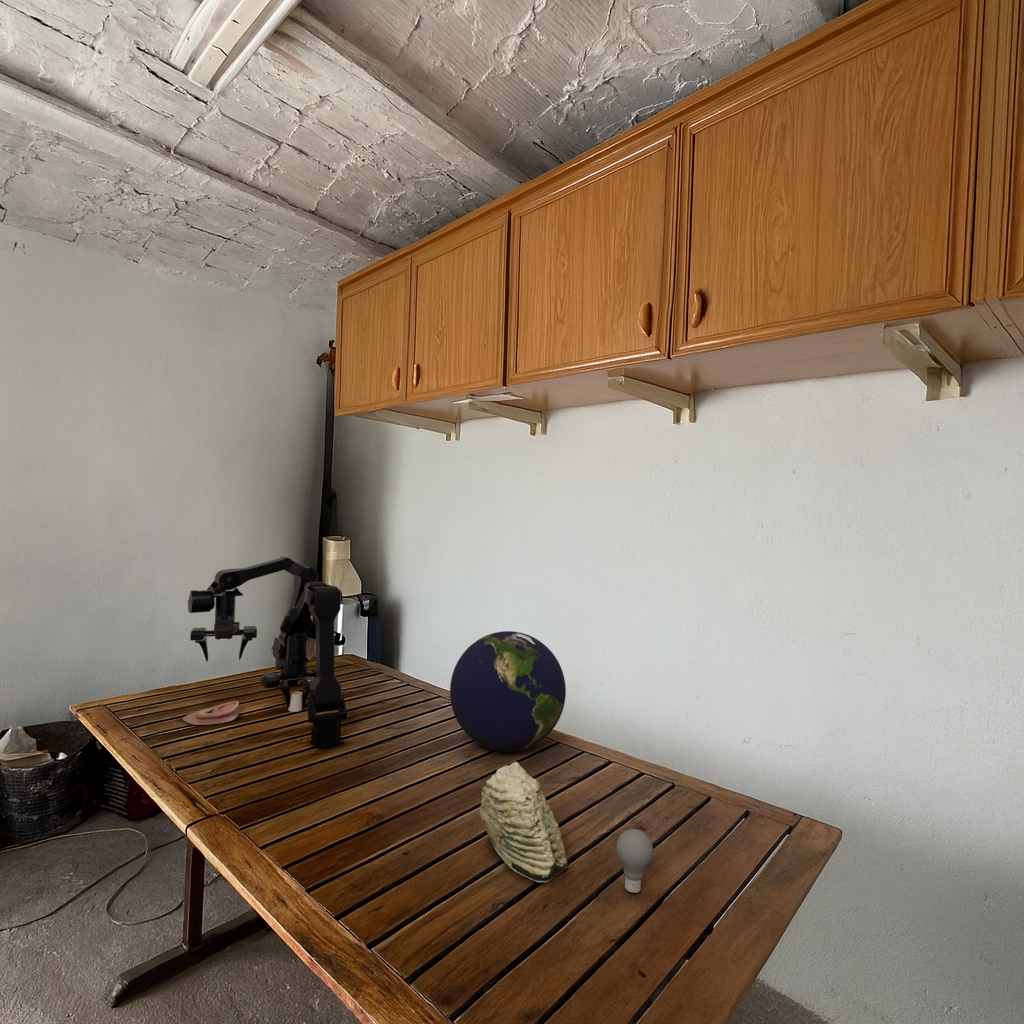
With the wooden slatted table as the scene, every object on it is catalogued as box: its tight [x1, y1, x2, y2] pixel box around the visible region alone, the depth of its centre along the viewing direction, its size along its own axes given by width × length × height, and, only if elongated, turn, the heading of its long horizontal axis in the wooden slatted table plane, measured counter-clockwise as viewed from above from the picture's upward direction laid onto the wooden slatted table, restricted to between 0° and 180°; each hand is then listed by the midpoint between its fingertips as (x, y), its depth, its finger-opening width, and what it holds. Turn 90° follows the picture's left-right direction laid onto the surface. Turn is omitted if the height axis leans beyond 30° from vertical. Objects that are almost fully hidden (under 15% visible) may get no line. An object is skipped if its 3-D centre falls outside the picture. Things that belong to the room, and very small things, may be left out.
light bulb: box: [615, 828, 654, 894], centre depth 106 cm, size 6×6×10 cm
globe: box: [449, 630, 567, 753], centre depth 164 cm, size 30×30×30 cm
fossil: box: [479, 761, 569, 883], centre depth 114 cm, size 9×18×15 cm, turn 46°
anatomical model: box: [182, 700, 240, 726], centre depth 176 cm, size 13×4×12 cm
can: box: [287, 690, 303, 713], centre depth 186 cm, size 4×4×5 cm
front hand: (295, 706), depth 186 cm, fingers closed on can, 4 cm apart
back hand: (223, 660), depth 197 cm, fingers open, 9 cm apart
